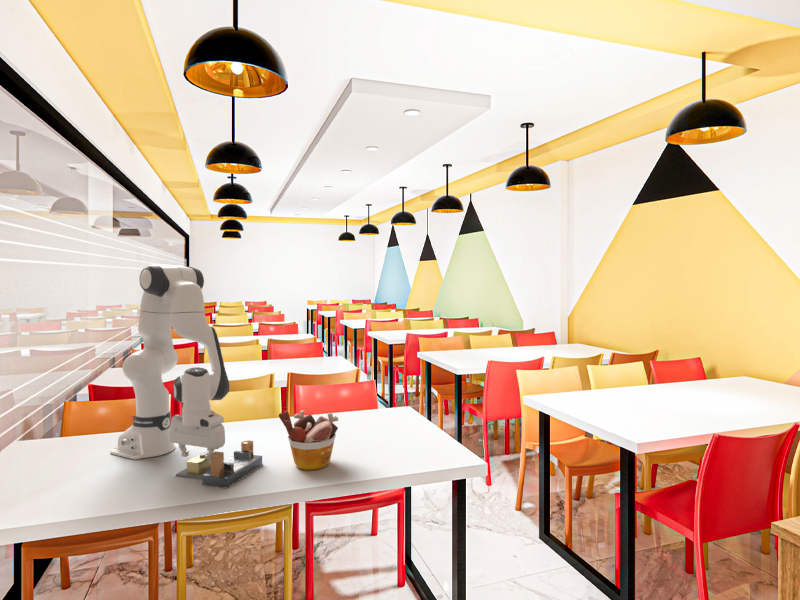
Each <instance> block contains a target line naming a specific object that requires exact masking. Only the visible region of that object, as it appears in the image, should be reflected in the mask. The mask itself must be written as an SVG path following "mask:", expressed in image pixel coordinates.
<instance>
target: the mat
mask: <svg viewBox="0 0 800 600" xmlns="http://www.w3.org/2000/svg"><path fill="white" fill-rule="evenodd" d="M209 471H211V468H210V469H208V470H206V471H205V472H203V473H201V474H199V475H195V474H187V467H186V468H185V469H183V470H181V471H178V472H177V473H175V477H180V478H187V479H188V478H189V479H196V480H202V475H204V474H205V473H207V472H209Z"/></svg>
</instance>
